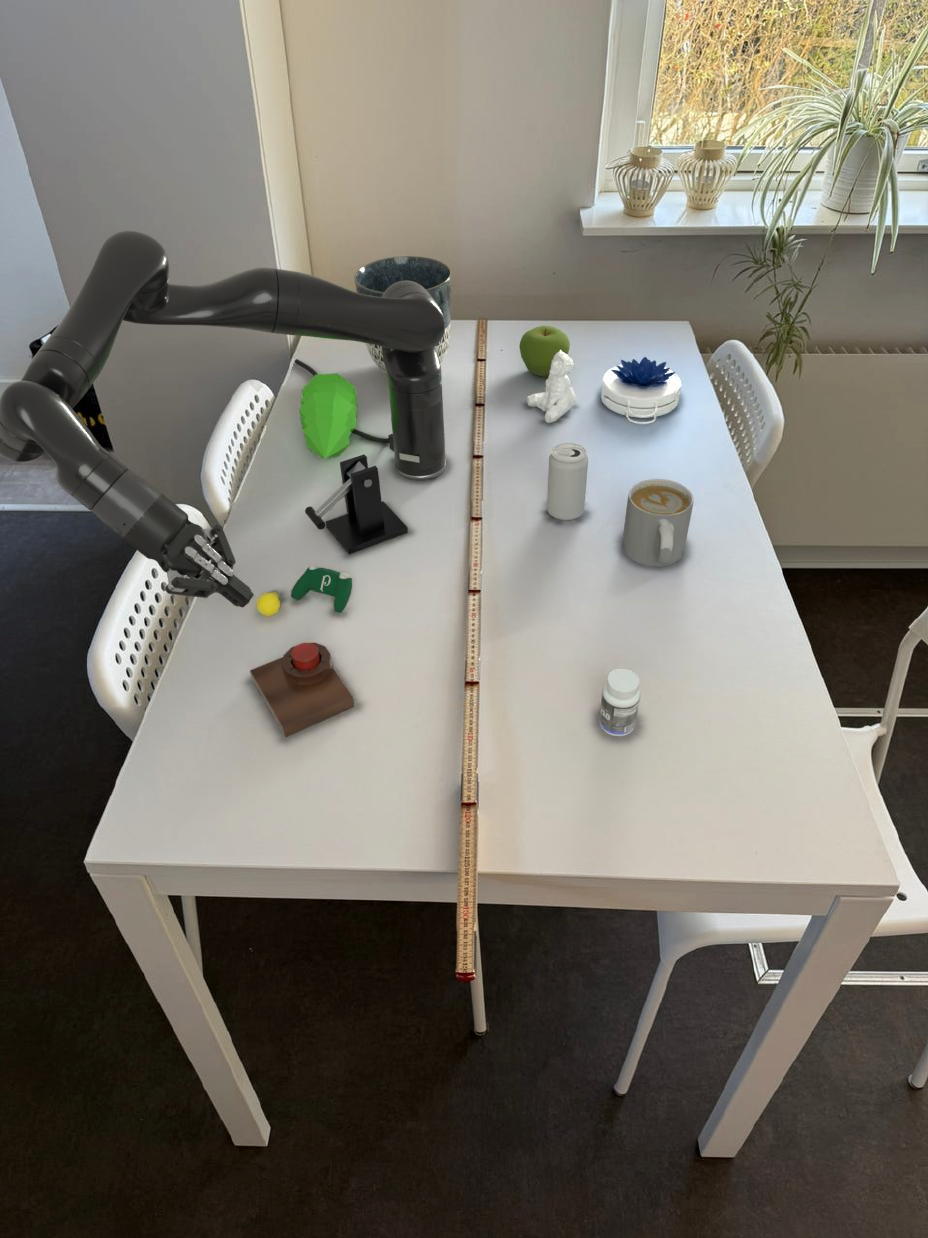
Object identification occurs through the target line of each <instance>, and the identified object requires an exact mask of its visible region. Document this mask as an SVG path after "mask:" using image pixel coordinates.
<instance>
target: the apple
mask: <svg viewBox="0 0 928 1238" xmlns="http://www.w3.org/2000/svg"><path fill="white" fill-rule="evenodd" d="M570 345H571V343H570V339H569V336H568V335H567V334H566V333H565V332H564V331H562V330H561V329H559V328H557V327H556V326H551V325H540V326H536V327H534V328H531V329H529V330H528V331H527V330H526V332H525V333H524V334H523V335H522V336H521V338H520V341H519V353H520V357H521V360H522V361H523V363H524V365H525V367H526V369H527V370H528V372H530V373H532V374H534V375H536V376H537V377H542V378H548V377H549V375H550V373H549V372H550V370H551V363H552V360H553V359H554V356H555V354H556V353H558V352H560V350H561V351H562V352H563V353H565V354H567V355H568V356H569V352H570V348H571V347H570Z"/></svg>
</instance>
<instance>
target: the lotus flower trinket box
mask: <svg viewBox="0 0 928 1238" xmlns="http://www.w3.org/2000/svg"><path fill="white" fill-rule="evenodd" d="M666 366H667V361H663V362H661V363H659V364H657V361H656V359H654V360H652V361H651V360H650V359H648V357H646V356H643V358H642V359H641V360H640V361H637V360H636V359H634V358H633V359H632V360H631V361H630V360H628V361H626V360H625V359H620V364H618V365H616V366H613V367H611V368H610V369H607V371H606V372H605V373H604V374H603V377H602V384H601V392H600V399H601V402H602V404H603V405H604V406H605V407H606V408H607V409H608V410H610V411H612V412H614V413H616V414H619V415H621V416H626V419H627V420H628V422H631V423H633V424H637V425H649V424H653V423H654V422H655V421H656V420H657V417H661V416H664V415H667V414H669V413H670V412H672V411H673V410H675V409H676V408H677V406H678V404H679V401H680V394H681V387H682V381H681V379H680V376H679V375H678V374H677V372H676V371H673V370H672V369H671V368H670V367H666ZM630 417H631V418H637V419H639V418H640V419H647V418H648V419H649V418H653V419H652V420H649V421H636V420H633V419H631V418H630Z"/></svg>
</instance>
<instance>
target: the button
mask: <svg viewBox="0 0 928 1238" xmlns="http://www.w3.org/2000/svg"><path fill="white" fill-rule="evenodd" d="M311 643H312V642H302V644H301V643H298V644H297V646H296V645H295V646H296V647H295V648H294V649H293V650H292V653H291V655H292V660H293V664H294V666H295V667H296V668H297V669H299V670H310V669H312V668H314V667H316V666H317V665H318V663H319V661H320V657H319V652H318V648H317V647H316V646H315V645H314V644H311Z"/></svg>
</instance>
